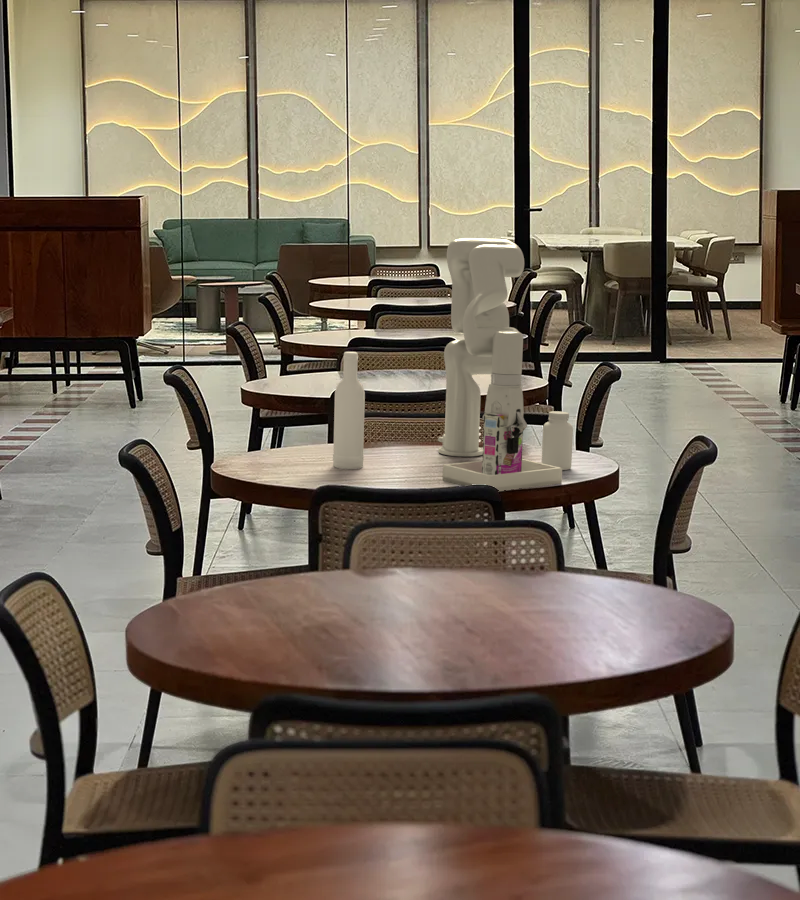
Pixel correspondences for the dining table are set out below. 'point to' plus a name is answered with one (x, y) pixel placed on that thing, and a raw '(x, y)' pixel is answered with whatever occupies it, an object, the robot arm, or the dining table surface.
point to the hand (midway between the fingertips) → (503, 450)
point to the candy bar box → (499, 447)
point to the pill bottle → (557, 441)
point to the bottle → (349, 417)
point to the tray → (503, 475)
